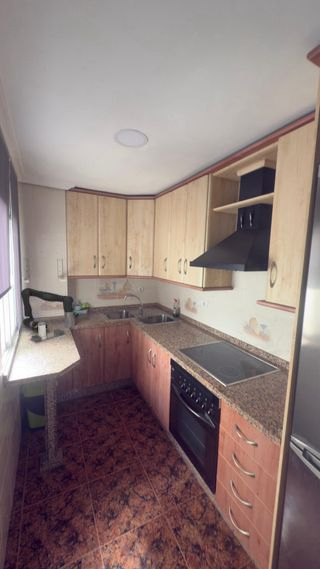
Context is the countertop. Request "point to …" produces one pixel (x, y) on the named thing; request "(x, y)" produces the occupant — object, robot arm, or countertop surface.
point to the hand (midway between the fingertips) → (42, 328)
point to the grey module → (41, 328)
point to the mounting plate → (47, 337)
